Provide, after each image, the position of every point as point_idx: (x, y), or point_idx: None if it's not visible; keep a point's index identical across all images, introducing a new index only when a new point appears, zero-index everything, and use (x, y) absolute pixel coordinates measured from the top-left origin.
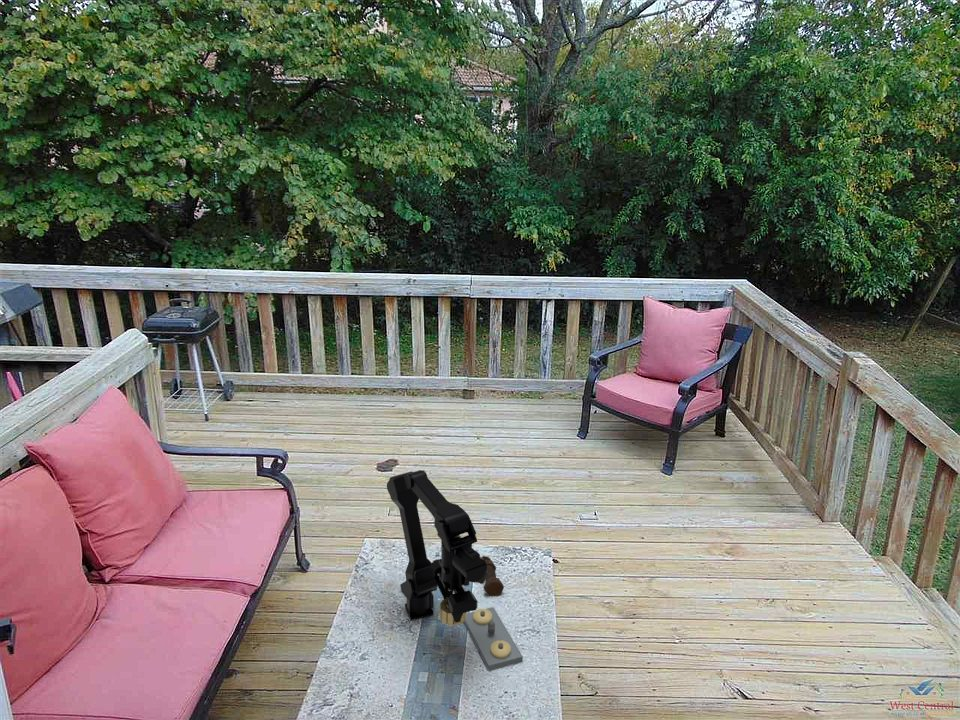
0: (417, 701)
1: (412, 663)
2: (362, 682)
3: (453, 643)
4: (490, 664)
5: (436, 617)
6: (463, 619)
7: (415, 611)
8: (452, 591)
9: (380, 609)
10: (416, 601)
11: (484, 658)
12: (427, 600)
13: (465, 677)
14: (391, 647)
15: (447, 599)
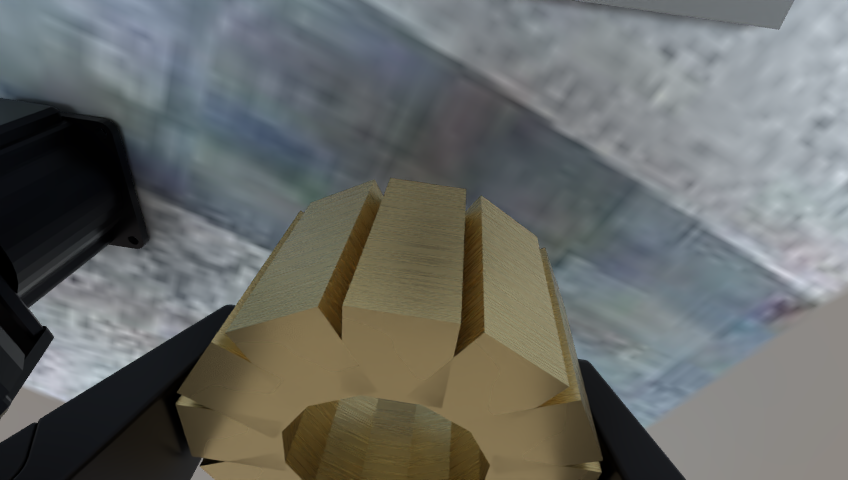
0: (632, 392)
1: None
2: None
3: (395, 121)
4: (779, 8)
5: (140, 112)
6: (556, 286)
7: (99, 233)
8: (95, 470)
9: (60, 316)
10: (42, 273)
11: (681, 15)
12: (20, 194)
13: (676, 184)
14: None
15: (238, 461)
